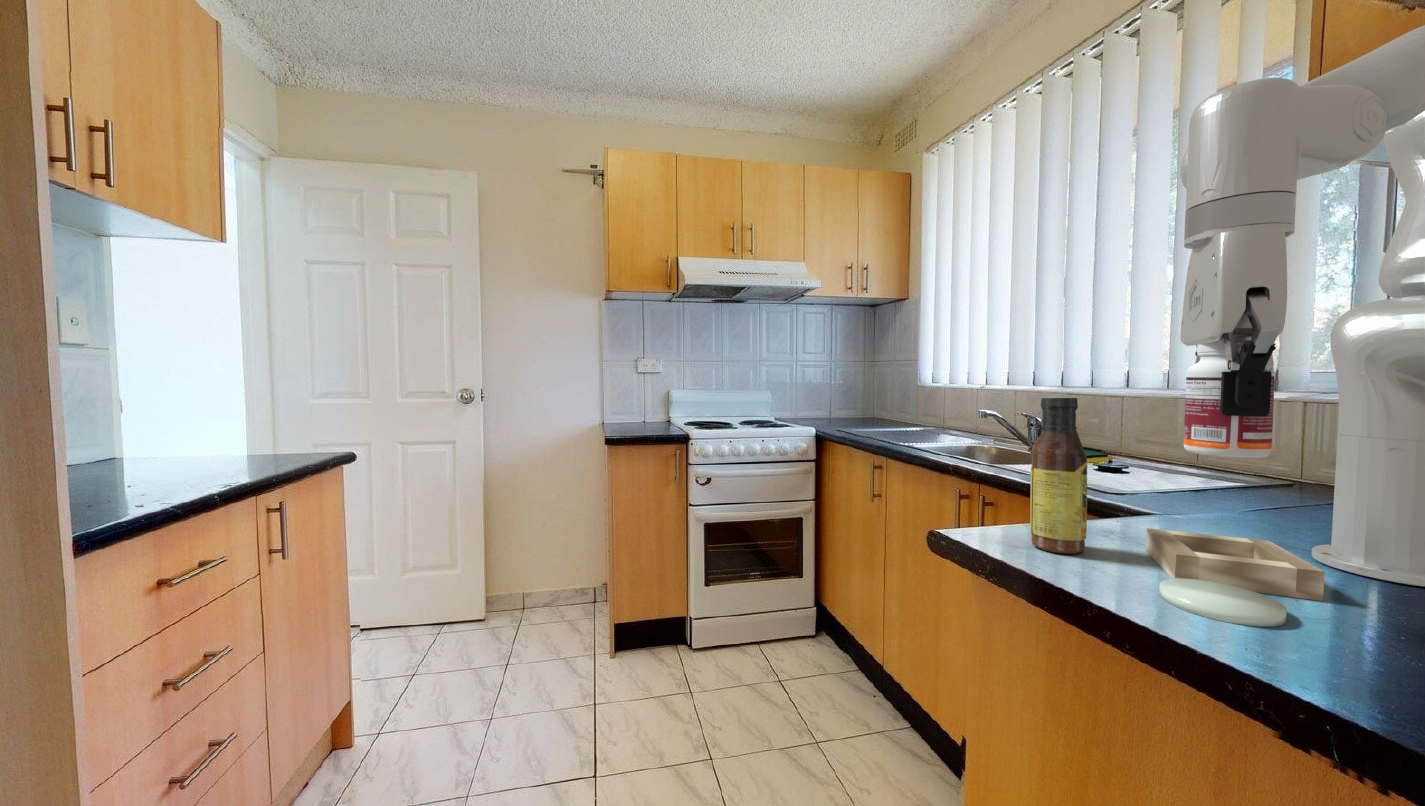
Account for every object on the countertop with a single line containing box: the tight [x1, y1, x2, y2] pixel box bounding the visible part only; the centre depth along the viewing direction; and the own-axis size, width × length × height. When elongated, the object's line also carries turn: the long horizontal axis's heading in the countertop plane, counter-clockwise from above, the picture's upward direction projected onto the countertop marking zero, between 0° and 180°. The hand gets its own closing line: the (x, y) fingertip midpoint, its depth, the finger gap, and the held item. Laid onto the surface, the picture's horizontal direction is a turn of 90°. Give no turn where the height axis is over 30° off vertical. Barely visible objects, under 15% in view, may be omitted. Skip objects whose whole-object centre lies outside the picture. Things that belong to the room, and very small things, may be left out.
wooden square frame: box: [1145, 528, 1325, 602], centre depth 61 cm, size 12×12×3 cm
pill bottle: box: [1183, 339, 1276, 459], centre depth 52 cm, size 6×6×11 cm
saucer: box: [1158, 578, 1287, 628], centre depth 53 cm, size 9×9×1 cm
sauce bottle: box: [1029, 396, 1088, 555], centre depth 70 cm, size 6×6×20 cm
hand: (1228, 411), depth 52 cm, fingers closed on pill bottle, 6 cm apart
